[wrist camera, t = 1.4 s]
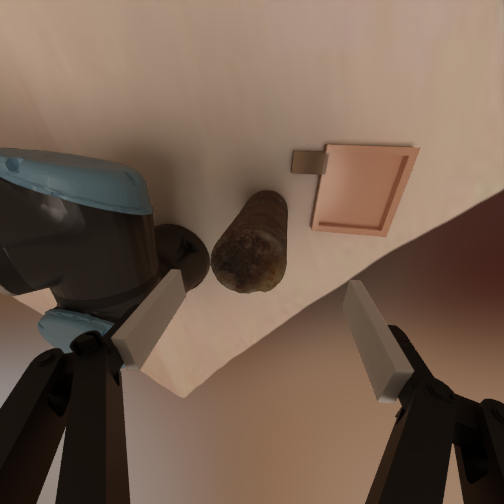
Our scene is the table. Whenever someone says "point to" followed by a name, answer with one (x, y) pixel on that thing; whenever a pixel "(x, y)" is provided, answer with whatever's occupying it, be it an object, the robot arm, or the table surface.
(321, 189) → the dish
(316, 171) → the matchbox
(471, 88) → the table surface
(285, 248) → the dark brown tall piece
